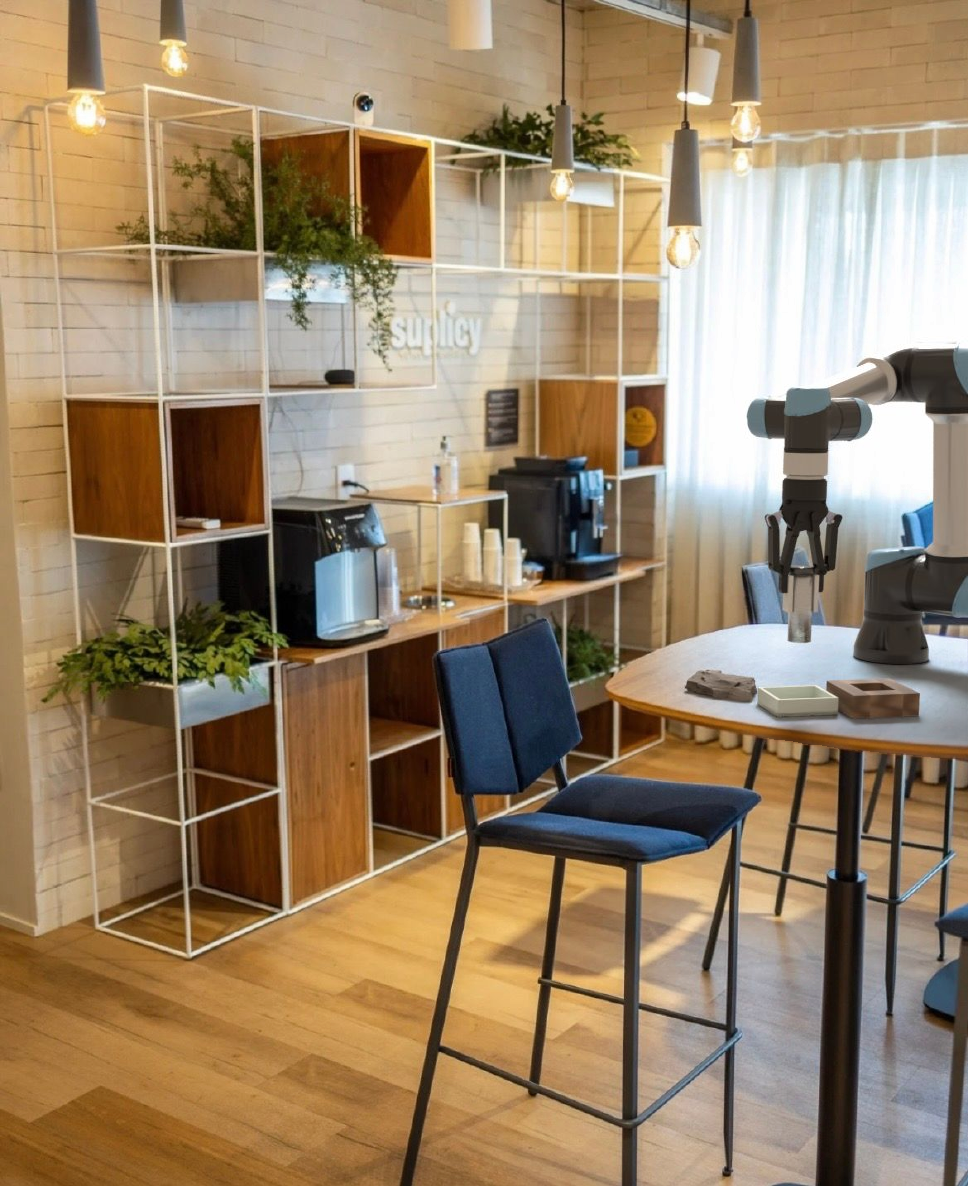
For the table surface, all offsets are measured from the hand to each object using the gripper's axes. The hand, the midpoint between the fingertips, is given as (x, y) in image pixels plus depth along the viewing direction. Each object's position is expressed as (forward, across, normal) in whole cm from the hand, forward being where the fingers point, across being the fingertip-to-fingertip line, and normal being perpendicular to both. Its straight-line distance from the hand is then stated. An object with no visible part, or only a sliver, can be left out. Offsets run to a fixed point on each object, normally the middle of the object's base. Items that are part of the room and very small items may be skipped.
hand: (800, 610), depth 240 cm
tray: (+18, 0, 0) cm, 18 cm away
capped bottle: (+5, 0, 0) cm, 5 cm away
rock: (+18, +8, -14) cm, 25 cm away
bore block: (+18, -13, +2) cm, 22 cm away
